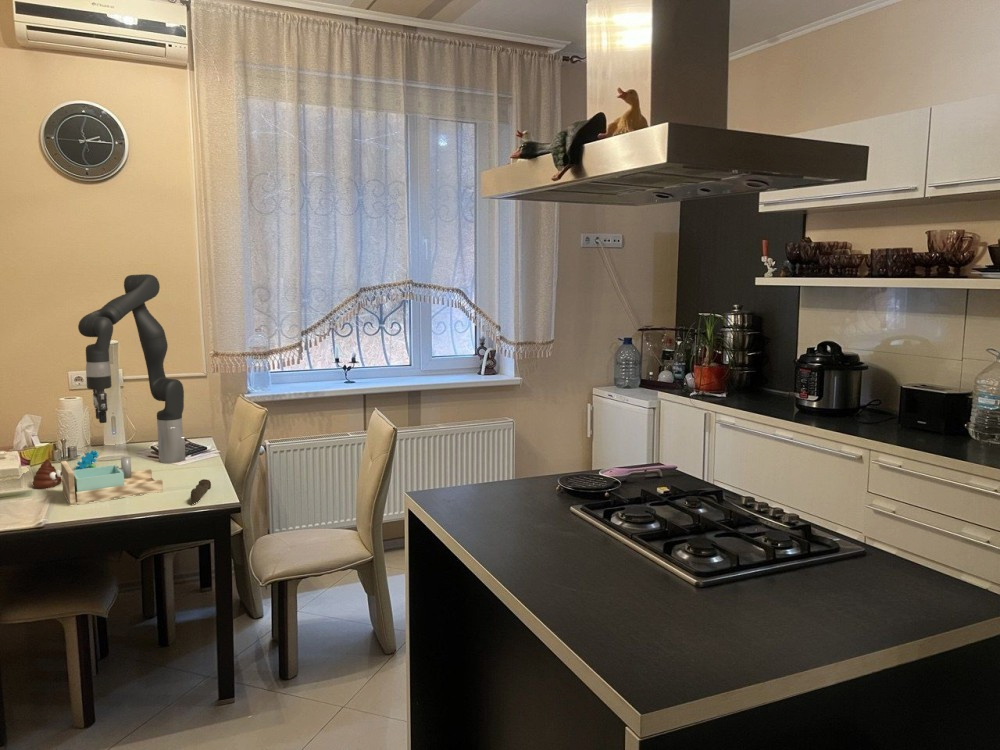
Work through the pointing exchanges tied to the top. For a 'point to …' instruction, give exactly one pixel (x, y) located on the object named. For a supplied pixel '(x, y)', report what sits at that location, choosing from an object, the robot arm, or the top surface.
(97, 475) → the crate
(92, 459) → the gear
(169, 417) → the robot arm
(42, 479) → the poop emoji
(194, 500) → the dark brown lumpy rod
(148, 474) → the bay
